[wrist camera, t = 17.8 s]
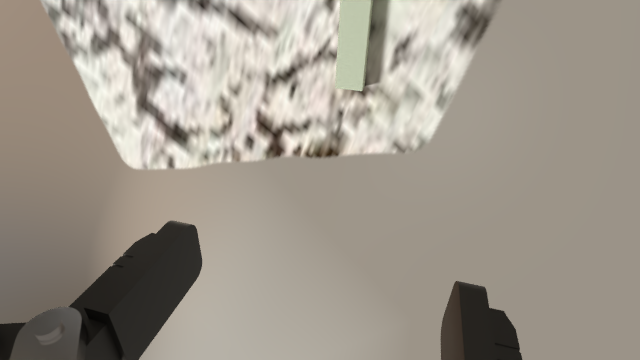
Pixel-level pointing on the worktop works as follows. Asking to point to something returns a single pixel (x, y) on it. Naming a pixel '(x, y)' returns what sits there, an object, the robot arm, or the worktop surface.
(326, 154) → the worktop surface
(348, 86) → the green block
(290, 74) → the worktop surface
